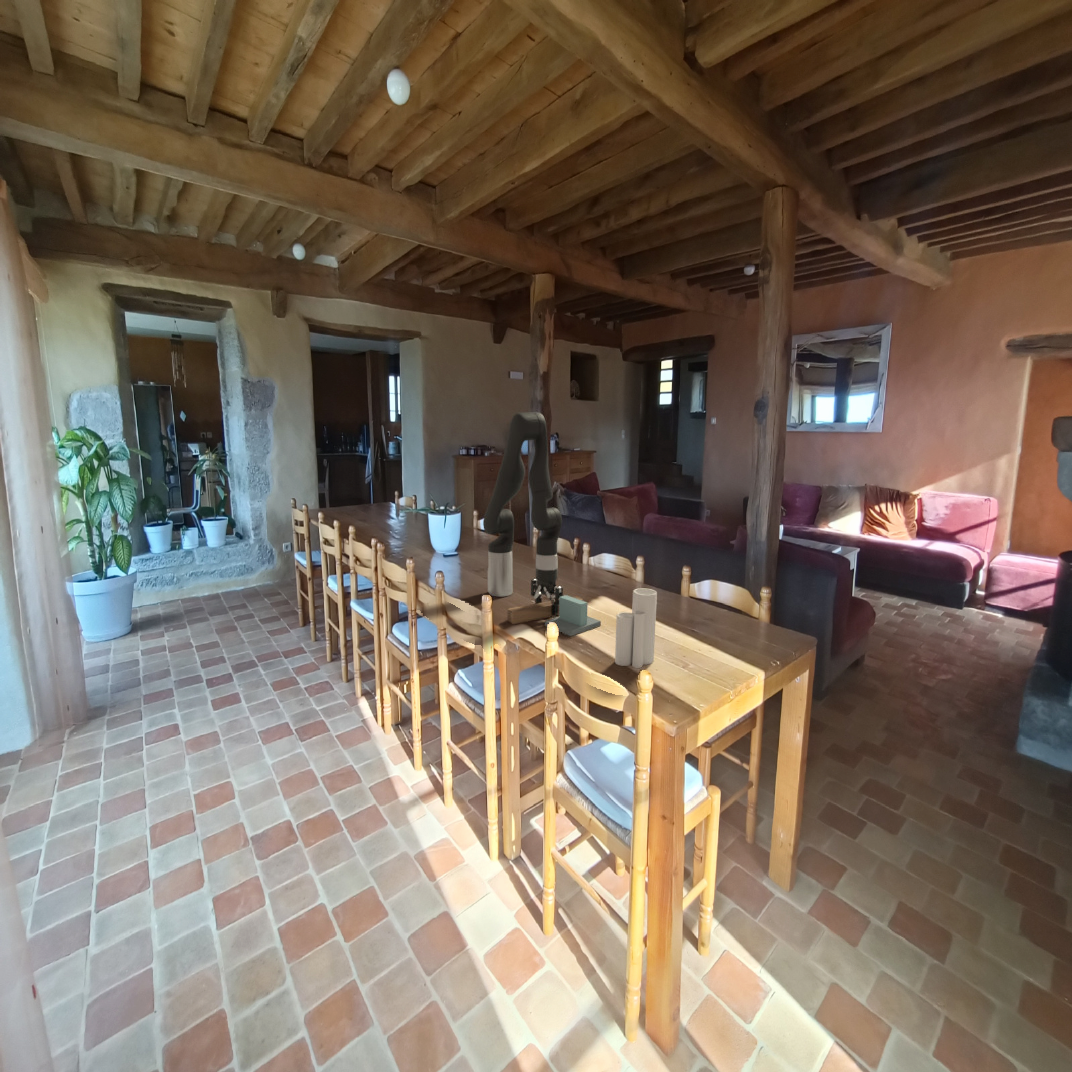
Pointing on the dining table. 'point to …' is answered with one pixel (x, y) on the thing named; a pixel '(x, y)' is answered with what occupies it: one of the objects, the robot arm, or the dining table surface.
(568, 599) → the stand
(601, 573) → the dining table surface
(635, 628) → the grey joined cylinders
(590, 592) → the dining table surface
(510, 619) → the walnut rod
